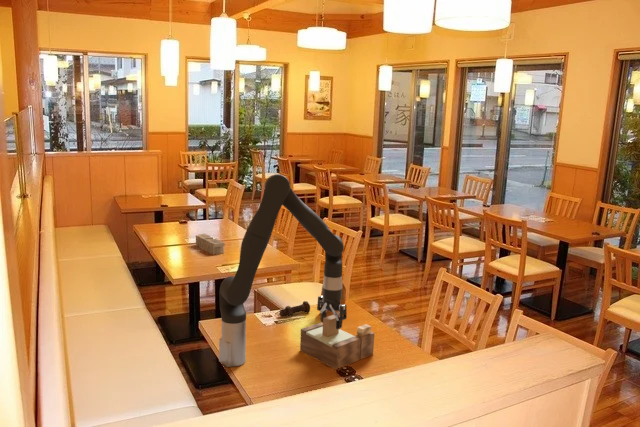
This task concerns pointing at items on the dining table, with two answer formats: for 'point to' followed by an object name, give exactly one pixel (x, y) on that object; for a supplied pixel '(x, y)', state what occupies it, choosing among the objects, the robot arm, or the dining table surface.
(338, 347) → the wooden box frame
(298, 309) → the bolt
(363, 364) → the dining table surface
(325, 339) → the lid
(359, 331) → the tan wooden block
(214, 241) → the block tower
